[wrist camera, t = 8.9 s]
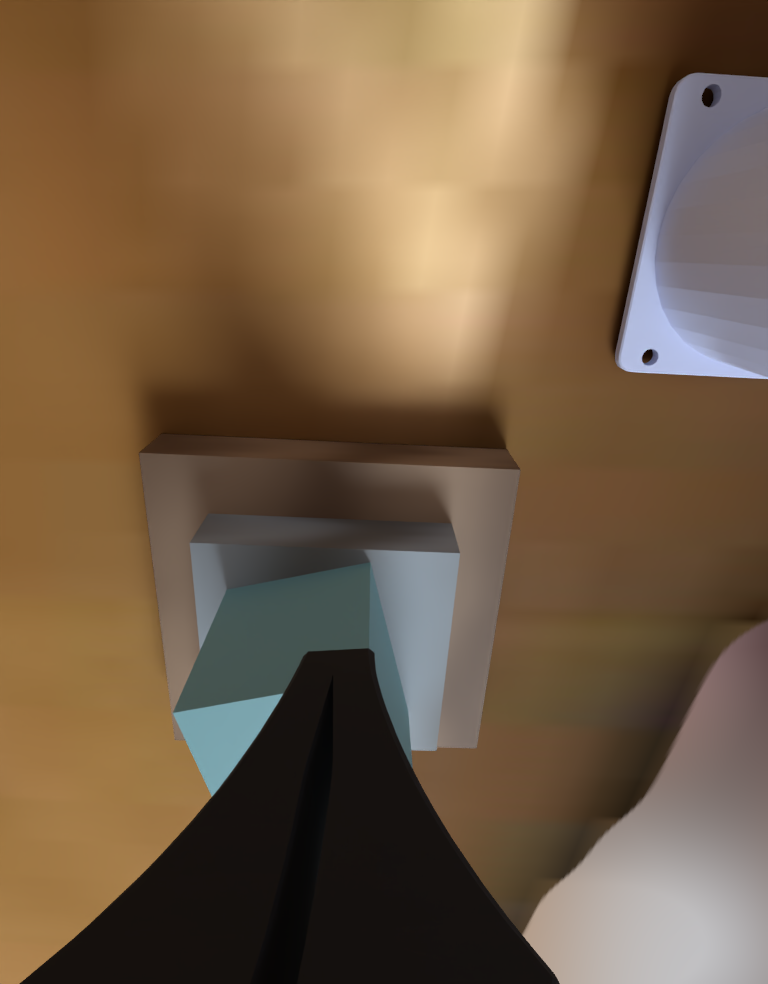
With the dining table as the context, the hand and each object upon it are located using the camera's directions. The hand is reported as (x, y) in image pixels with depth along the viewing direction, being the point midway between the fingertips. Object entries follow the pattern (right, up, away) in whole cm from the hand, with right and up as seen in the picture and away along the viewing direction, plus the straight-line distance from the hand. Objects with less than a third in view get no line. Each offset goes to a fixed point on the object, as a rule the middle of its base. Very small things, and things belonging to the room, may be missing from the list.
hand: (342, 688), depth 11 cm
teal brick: (-1, -1, +7) cm, 7 cm away
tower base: (-1, 0, +11) cm, 11 cm away
